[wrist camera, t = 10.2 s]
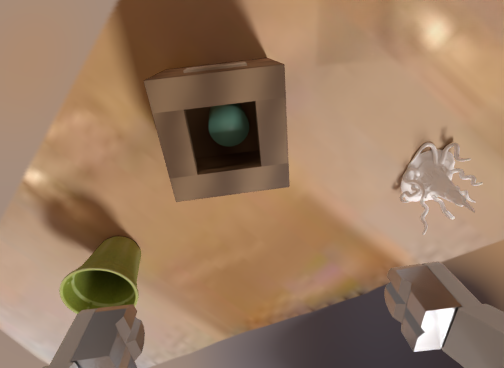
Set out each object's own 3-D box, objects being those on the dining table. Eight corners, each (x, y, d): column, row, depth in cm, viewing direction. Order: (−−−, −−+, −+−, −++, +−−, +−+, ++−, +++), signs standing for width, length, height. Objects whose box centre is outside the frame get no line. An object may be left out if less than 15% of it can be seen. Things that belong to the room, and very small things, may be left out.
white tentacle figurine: (465, 140, 40) (527, 165, 32) (441, 209, 46) (489, 246, 38) (407, 143, 40) (455, 170, 31) (389, 213, 45) (426, 251, 37)
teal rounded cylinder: (244, 97, 34) (249, 106, 29) (244, 132, 36) (249, 145, 31) (207, 97, 33) (207, 106, 29) (209, 133, 35) (209, 147, 31)
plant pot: (94, 218, 40) (63, 260, 33) (159, 235, 43) (145, 278, 35) (84, 265, 44) (55, 312, 36) (144, 278, 46) (129, 325, 39)
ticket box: (267, 56, 32) (284, 61, 24) (273, 152, 38) (289, 186, 29) (164, 68, 32) (143, 78, 23) (186, 164, 38) (176, 202, 29)
